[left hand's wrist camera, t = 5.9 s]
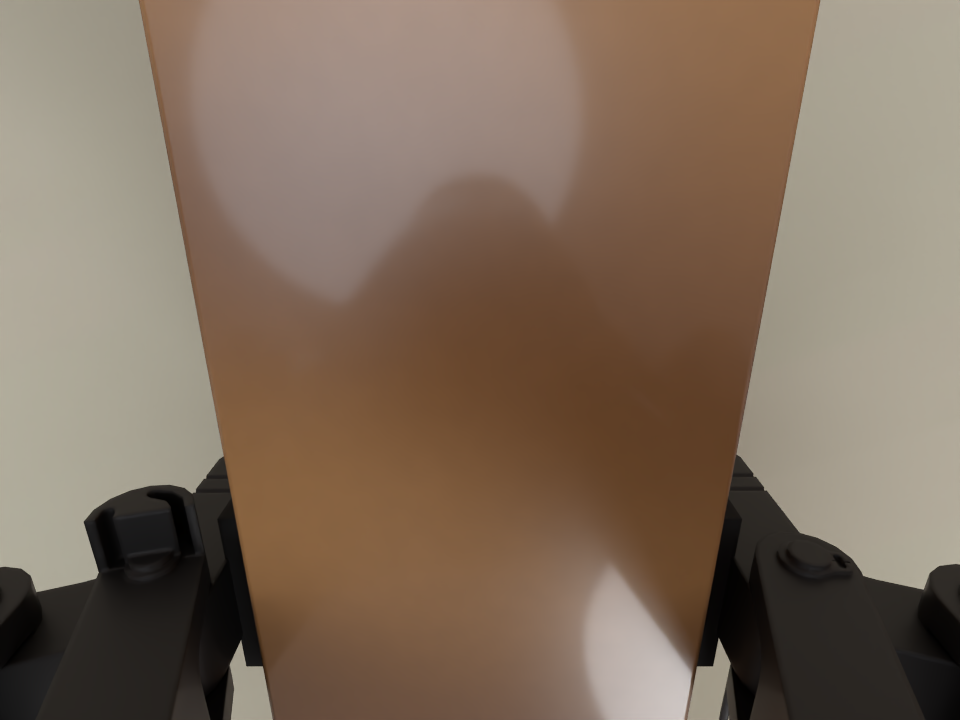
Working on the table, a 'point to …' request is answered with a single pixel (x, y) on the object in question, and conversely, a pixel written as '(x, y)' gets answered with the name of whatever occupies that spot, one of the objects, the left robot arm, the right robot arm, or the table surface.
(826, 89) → the table surface
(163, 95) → the bar
